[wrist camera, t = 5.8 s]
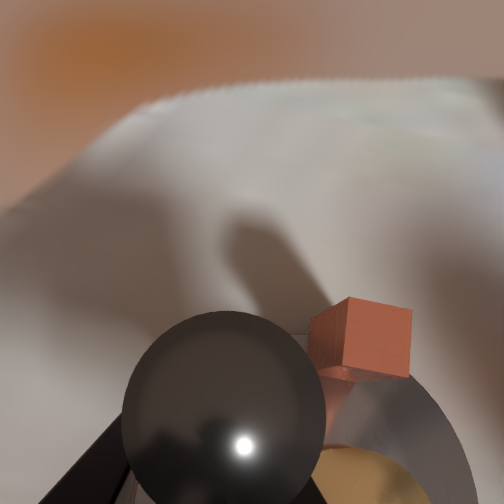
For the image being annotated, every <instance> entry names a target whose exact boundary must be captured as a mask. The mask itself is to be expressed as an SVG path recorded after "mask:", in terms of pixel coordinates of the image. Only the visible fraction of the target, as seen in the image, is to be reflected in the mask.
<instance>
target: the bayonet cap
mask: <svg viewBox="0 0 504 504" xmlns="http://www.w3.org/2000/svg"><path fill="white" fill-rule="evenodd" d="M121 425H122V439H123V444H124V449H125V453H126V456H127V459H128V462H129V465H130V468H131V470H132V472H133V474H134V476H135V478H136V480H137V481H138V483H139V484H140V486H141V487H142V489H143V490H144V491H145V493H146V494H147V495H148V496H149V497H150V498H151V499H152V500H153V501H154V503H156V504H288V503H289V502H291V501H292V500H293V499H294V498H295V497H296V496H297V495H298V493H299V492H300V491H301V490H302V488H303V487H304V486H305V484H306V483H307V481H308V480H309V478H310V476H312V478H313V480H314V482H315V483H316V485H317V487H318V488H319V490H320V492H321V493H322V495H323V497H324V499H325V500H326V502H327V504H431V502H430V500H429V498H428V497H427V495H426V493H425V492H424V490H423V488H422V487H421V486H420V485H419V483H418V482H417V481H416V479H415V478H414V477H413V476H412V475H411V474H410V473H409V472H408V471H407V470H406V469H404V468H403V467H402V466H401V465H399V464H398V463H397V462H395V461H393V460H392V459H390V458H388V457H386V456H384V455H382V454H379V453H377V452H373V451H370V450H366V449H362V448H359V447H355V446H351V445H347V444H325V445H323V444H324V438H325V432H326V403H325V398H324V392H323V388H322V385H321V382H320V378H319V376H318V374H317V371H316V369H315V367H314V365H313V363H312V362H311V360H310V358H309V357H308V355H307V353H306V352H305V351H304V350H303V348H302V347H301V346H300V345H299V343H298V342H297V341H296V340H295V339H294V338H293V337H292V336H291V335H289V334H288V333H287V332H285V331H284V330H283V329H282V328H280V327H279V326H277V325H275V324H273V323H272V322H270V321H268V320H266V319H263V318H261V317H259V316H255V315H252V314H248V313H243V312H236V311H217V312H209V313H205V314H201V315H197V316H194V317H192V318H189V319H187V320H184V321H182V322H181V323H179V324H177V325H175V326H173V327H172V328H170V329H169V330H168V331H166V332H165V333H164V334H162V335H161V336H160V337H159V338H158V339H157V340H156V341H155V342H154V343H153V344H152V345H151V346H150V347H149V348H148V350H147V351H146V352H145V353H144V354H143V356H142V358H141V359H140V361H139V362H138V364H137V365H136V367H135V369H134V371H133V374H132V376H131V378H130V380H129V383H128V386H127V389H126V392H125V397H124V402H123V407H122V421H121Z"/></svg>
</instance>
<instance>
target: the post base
mask: <svg viewBox="0 0 504 504" xmlns="http://www.w3.org/2000/svg"><path fill="white" fill-rule="evenodd" d="M411 326H412V310H410V309H405V308H400V307H395V306H390V305H386V304H381V303H376V302H371V301H367V300H362V299H357V298H352V297H348V298H346V299H344V300H343V301H341V302H339V303H338V304H336V305H334V306H333V307H331V308H329V309H327V310H326V311H324V312H322V313H321V314H319V315H317V316H315V317H314V318H312V319H311V326H310V334H294V335H291V336H292V337H293V338H294V339H295V340H296V341H297V342H298V343H299V345H300V346H301V347H302V348H303V350H304V351H305V352H306V353H307V355H308V357H309V358H310V360H311V362H312V363H313V365H314V367H315V369H316V371H317V374H318V376H319V378H320V382H321V385H322V388H323V392H324V398H325V403H326V432H325V438H324V444H323V445H325V444H347V445H351V446H355V447H359V448H362V449H366V450H370V451H373V452H377V453H379V454H382V455H384V456H386V457H388V458H390V459H392V460H393V461H395V462H397V463H398V464H399V465H401V466H402V467H403V468H404V469H406V470H407V471H408V472H409V473H410V474H411V475H412V476H413V477H414V478H415V479H416V481H417V482H418V483H419V485H420V486H421V487H422V488H423V490H424V492H425V493H426V495H427V497H428V498H429V500H430V502H431V504H478V499H477V492H476V488H475V484H474V480H473V477H472V473H471V469H470V466H469V463H468V461H467V458H466V456H465V453H464V450H463V448H462V445H461V443H460V441H459V439H458V437H457V435H456V433H455V431H454V429H453V427H452V425H451V424H450V422H449V421H448V419H447V418H446V416H445V415H444V413H443V411H442V410H441V408H440V407H439V405H438V404H437V403H436V402H435V401H434V399H433V398H432V397H431V396H430V394H429V393H428V392H427V391H426V390H425V388H424V387H423V386H421V385H420V384H419V383H418V382H417V381H416V380H415V379H414V378H413V377H412V376H411V375H410V374H409V364H410V345H411ZM134 504H156V503H154V501H153V500H152V499H151V498H150V497H149V496H148V495H147V494H146V493H145V491H144V490H143V489H142V487H141V486H140V484H139V483H138V485H137V490H136V496H135V502H134Z"/></svg>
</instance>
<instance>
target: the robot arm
mask: <svg viewBox="0 0 504 504" xmlns="http://www.w3.org/2000/svg"><path fill="white" fill-rule="evenodd" d="M121 421H122V413H121V414H120V415H119V416H118V417H117V418H116V419H115V420H114V421H113V422H112V423H111V425H110V426H109V427H108V428H107V429H106V430H105V431H104V432H103V433H102V434H101V435H100V437H99V438H98V439H97V440H96V441H95V442H94V443H93V444H92V445H91V446H90V448H89V449H88V450H87V451H86V452H85V453H84V454H83V455H82V456H81V457H80V458H79V460H78V461H77V462H76V463H75V464H74V465H73V466H72V467H71V468H70V469H69V470H68V472H67V473H66V474H65V475H64V476H63V477H62V478H61V479H60V480H59V481H58V482H57V484H56V485H55V486H54V487H53V488H52V489H51V490H50V491H49V492H48V493H47V495H46V496H45V497H44V498H43V499H42V500H41V501H40V502H39V503H38V504H129V502H130V498H131V493H132V489H133V485H134V480H135V476H134V474H133V472H132V470H131V468H130V465H129V462H128V459H127V456H126V453H125V449H124V444H123V439H122V425H121ZM288 504H327V502H326V500H325V499H324V497H323V495H322V493H321V492H320V490H319V488H318V487H317V485H316V483H315V482H314V480H313V478H312V476H310V478H309V480H308V481H307V483H306V484H305V486H304V487H303V488H302V490H301V491H300V492H299V493H298V495H297V496H296V497H295V498H294V499H293V500H292V501H291V502H289V503H288Z"/></svg>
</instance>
